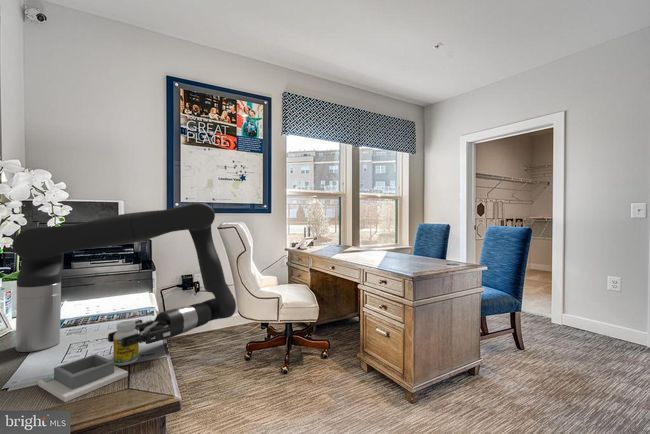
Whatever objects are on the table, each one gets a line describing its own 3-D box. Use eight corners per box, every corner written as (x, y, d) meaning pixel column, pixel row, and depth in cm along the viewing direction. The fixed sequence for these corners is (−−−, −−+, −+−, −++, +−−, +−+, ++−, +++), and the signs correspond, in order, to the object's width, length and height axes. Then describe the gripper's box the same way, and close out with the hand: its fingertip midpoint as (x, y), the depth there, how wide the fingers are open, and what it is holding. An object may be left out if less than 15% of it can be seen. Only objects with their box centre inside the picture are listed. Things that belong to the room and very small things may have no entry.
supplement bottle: (137, 354, 84) (138, 318, 84) (139, 362, 80) (139, 324, 80) (113, 359, 81) (113, 321, 81) (113, 368, 77) (113, 328, 77)
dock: (38, 385, 68) (38, 369, 68) (100, 363, 79) (100, 349, 79) (65, 402, 62) (65, 384, 62) (127, 376, 73) (128, 360, 73)
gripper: (161, 304, 96) (100, 320, 81) (193, 312, 89) (132, 330, 75) (161, 329, 96) (99, 349, 81) (193, 339, 89) (132, 362, 75)
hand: (115, 340), depth 78 cm, fingers closed on supplement bottle, 5 cm apart
